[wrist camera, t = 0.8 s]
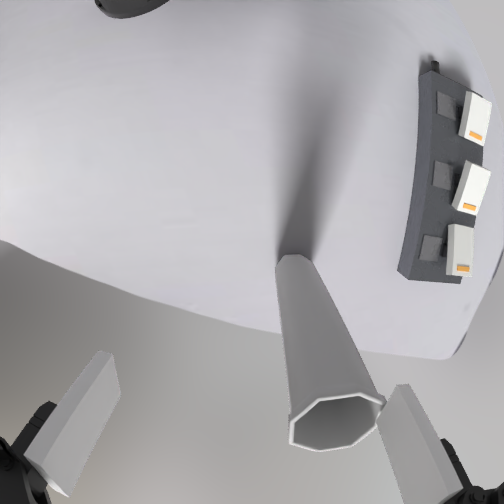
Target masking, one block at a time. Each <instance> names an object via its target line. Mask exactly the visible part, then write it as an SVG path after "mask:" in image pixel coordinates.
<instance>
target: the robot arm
mask: <svg viewBox="0 0 504 504" xmlns="http://www.w3.org/2000/svg"><path fill="white" fill-rule="evenodd" d="M168 1H169V0H95V3H96V5H97V7H98V8H99V9H100V10H101V11H102V12H103V13H104V14H106V15H107V16H109V17H112V18H118V19H123V18H131V17H136V16H139V15H142V14H145V13H147V12H150V11H152V10H154V9H156V8H158V7H160V6H161V5H163V4H165V3H166V2H168ZM120 397H121V392H120V387H119V383H118V378H117V373H116V367H115V362H114V356H113V354H111V353H108V352H104V351H101V350H98V352H97V353H96V354H95V356H94V357H93V358H92V359H91V361H90V362H89V363H88V365H87V366H86V367H85V368H84V370H83V371H82V372H81V374H80V375H79V376H78V378H77V379H76V380H75V382H74V383H73V384H72V386H71V387H70V388H69V390H68V391H67V392H66V394H65V395H64V397H63V398H62V399H61V401H60V402H59V403H58V405H57V404H54V403H52V402H50V401H48V402H46V403H45V404H43V405H42V406H40V407H39V408H38V410H37V411H36V412H35V414H34V416H33V417H32V418H31V419H30V420H29V423H28V424H26V426H25V427H24V429H23V430H22V432H21V433H20V434H19V436H18V437H17V439H16V440H15V441H14V443H13V444H12V445H11V447H10V446H9V444H8V443H7V442H6V441H5V439H3V438H2V437H0V504H51V501H50V498H49V495H48V492H47V490H46V486H47V484H49V485H50V486H51V487H52V488H53V489H54V490H56V491H58V492H59V493H62V494H63V495H65V496H67V497H70V495H71V493H72V491H73V489H74V487H75V485H76V482H77V480H78V478H79V476H80V474H81V472H82V470H83V468H84V466H85V464H86V462H87V460H88V458H89V456H90V454H91V452H92V450H93V448H94V446H95V444H96V442H97V440H98V438H99V436H100V434H101V432H102V430H103V428H104V426H105V424H106V423H107V421H108V419H109V417H110V415H111V413H112V411H113V410H114V408H115V406H116V404H117V402H118V400H119V398H120ZM376 424H377V427H378V429H379V432H380V435H381V437H382V440H383V443H384V446H385V449H386V451H387V454H388V457H389V460H390V463H391V466H392V469H393V471H394V474H395V477H396V480H397V483H398V486H399V489H400V493H401V496H402V499H403V502H404V504H504V482H503V483H502V484H501V485H500V486H499V487H497V488H495V489H489V490H484V489H483V488H481V487H479V486H472V484H471V482H470V480H469V478H468V476H467V474H466V472H465V470H464V468H463V466H462V464H461V462H460V461H459V458H458V456H457V455H456V452H455V450H454V448H453V446H452V445H451V444H450V443H449V442H448V441H447V440H446V439H441V440H440V439H439V437H438V436H437V433H436V431H435V430H434V428H433V426H432V424H431V422H430V420H429V418H428V417H427V415H426V413H425V411H424V409H423V408H422V406H421V404H420V402H419V400H418V399H417V397H416V395H415V393H414V392H413V390H412V388H411V386H410V385H409V384H403V385H396V387H395V389H394V391H393V393H392V395H391V397H390V398H389V400H388V402H387V403H386V405H385V407H384V409H383V410H382V412H381V414H380V415H379V417H378V418H377V420H376Z"/></svg>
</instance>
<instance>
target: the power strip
mask: <svg viewBox="0 0 504 504" xmlns="http://www.w3.org/2000/svg"><path fill="white" fill-rule="evenodd" d="M431 65H432V71H429V72H427V73H425V74H423V75H421V76H419V121H418V141H417V154H416V165H415V175H414V183H413V191H412V198H411V204H410V211H409V217H408V222H407V228H406V233H405V238H404V243H403V248H402V252H401V257H400V261H399V265H398V270H397V271H398V272H399V273H401V274H402V275H403V276H404V277H405V278H407V279H408V280H417V281H429V282H442V283H455V284H460V283H461V279H462V276H455V275H446V267H447V251H448V225H451V224H458V225H462V226H466V227H470V228H474V225H475V219H476V215H473V214H469V213H465V212H462V211H458V210H456V209H455V208H454V207H453V206H452V203H453V200H454V197H455V194H456V191H457V188H458V185H459V182H460V178H461V175H462V172H463V168H464V165H465V161H466V160H467V161H470V162H472V163H475V164H477V165H479V166H482V160H483V146H481V145H479V144H477V143H475V142H473V141H471V140H468V139H466V138H464V137H462V136H459V135H458V134H459V129H460V124H461V119H462V114H463V108H464V103H465V96H466V91H468V92H473V93H475V94H476V95H478V96H480V97H482V96H481V95H479V94H478V93H476V92H474V91H472V90H470V89H469V88H467V87H465V86H463V85H461V84H459V83H457V82H455V81H453V80H451V79H449V78H447V77H445V76H443V75H440V70H439V62H437V61H432V62H431ZM482 98H483V97H482Z"/></svg>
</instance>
